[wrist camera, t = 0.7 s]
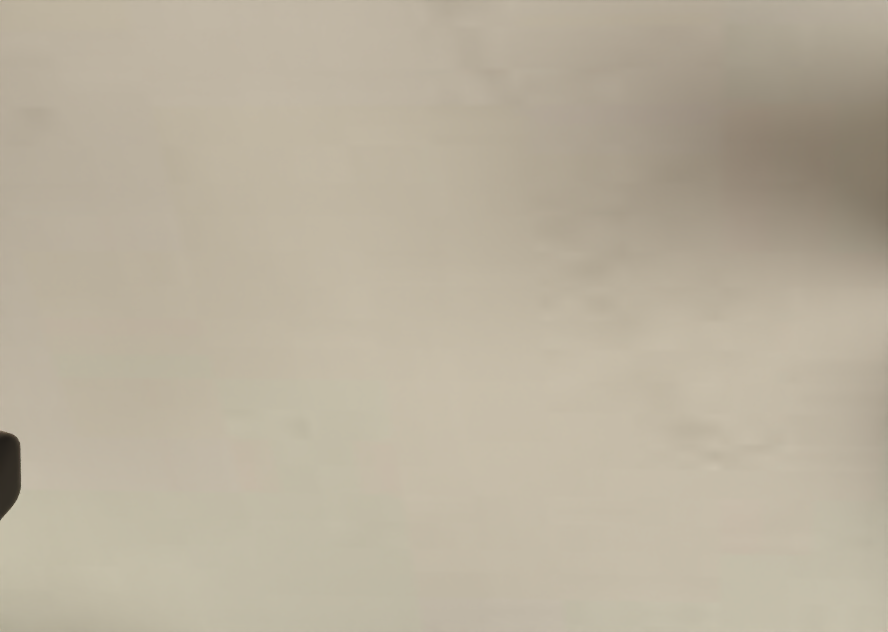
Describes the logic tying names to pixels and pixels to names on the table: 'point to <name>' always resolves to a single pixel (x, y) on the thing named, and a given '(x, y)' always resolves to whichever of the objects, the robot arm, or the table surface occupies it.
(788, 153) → the table surface
